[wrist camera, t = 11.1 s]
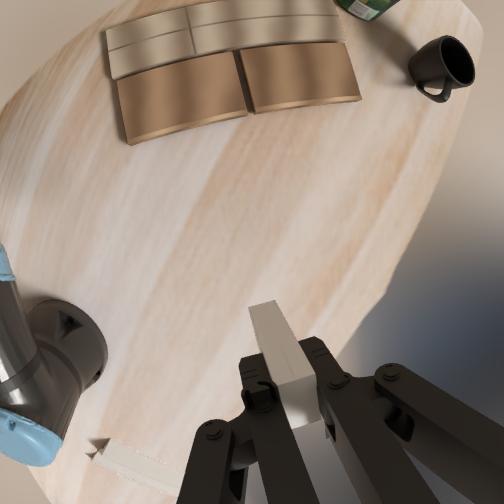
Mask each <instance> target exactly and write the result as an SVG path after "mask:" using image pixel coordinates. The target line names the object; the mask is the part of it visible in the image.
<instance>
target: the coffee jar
mask: <svg viewBox="0 0 504 504" xmlns="http://www.w3.org/2000/svg"><path fill="white" fill-rule="evenodd" d="M399 1H400V0H338V2H339V3H340V5H341V6H342V7H343V8H345V9H346V10H347V11H348V12H350V13H351V14H353V15H355V16H356V17H359V18H361V19H364V20H368V21H371V20H374V19H376V18H377V17H379V16H380V15H381V14H383V13H384V12H385V11H386V10H388V9H389V8H390V7H392V6H393V5H394V4H396V3H397V2H399Z"/></svg>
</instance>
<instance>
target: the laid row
mask: <svg viewBox="0 0 504 504" xmlns="http://www.w3.org/2000/svg"><path fill="white" fill-rule="evenodd" d="M106 36H107V45H108V53H109V60H110V67H111V74H112V78H113V79H114V80H115V81H118V80H120V79H123V78H126V77H129V76H132V75H135V74H139V73H142V72H145V71H148V70H152V69H155V68H159V67H162V66H166V65H170V64H174V63H178V62H182V61H186V60H190V59H195V58H199V57H204V56H209V55H214V54H220V53H225V52H231V51H237V50H244V49H251V48H259V47H268V46H279V45H291V44H308V43H343V42H344V41H345V40H346V36H345V33H344V30H343V27H342V24H341V21H340V19H339V15H338V13H337V10H336V8H335V5H334V2H333V0H224V1H217V2H211V3H205V4H199V5H194V6H189V7H184V8H179V9H175V10H171V11H166V12H162V13H159V14H155V15H151V16H148V17H144V18H141V19H137V20H134V21H131V22H128V23H125V24H122V25H119V26H116V27H113V28H110V29H108V30H106Z"/></svg>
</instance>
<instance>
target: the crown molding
mask: <svg viewBox="0 0 504 504" xmlns="http://www.w3.org/2000/svg"><path fill="white" fill-rule="evenodd" d="M91 460H92V462H93V463H95V464H97V465H99V466H101V467H103V468H105V469H107V470H110V471H112V472H114V473H116V474H118V475H120V476H123V477H125V478H127V479H129V480H132V481H134V482H137V483H139V484H141V485H144V486H147V487H149V488H152V489H154V490H157V491H160V492H163V493H166V494H168V495H171V496H174V497H177V498H178V496H179V492H180V488H181V485H182V481H183V478H184V474H185V471H183V470H180V469H178V468H175V467H173V466H170V465H168V464H165V463H163V462H160V461H158V460H156V459H153V458H151V457H149V456H147V455H144V454H142V453H140V452H138V451H136V450H134V449H132V448H130V447H128V446H126V445H124V444H122V443H120V442H118V441H116V440H114V439H112V438H111V439H110V440H109V441H108V443H107V444H106V445H105V446H104V448H103V449H102V448H101V449H100V450H99V451H98V452H97V453H96V454H95V455H94V457H93V458H91Z"/></svg>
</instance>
